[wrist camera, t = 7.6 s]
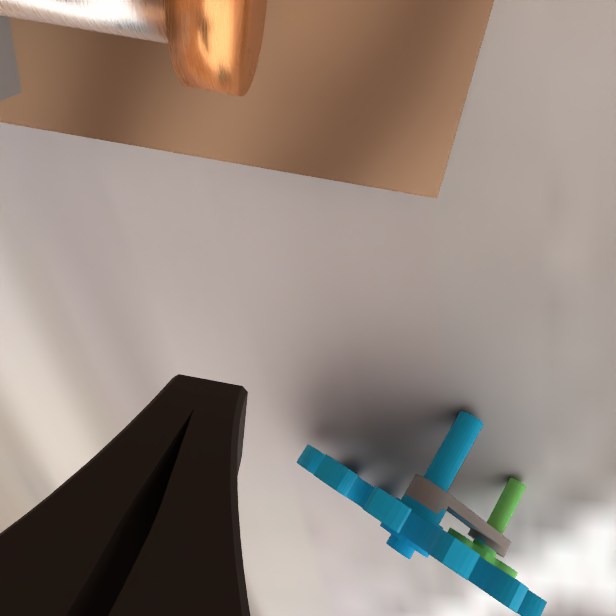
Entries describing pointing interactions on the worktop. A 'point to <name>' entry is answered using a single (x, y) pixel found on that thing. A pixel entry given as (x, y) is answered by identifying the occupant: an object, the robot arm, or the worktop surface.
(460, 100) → the bearing stand
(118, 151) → the worktop surface
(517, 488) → the gear
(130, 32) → the shaft
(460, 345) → the worktop surface
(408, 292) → the worktop surface
